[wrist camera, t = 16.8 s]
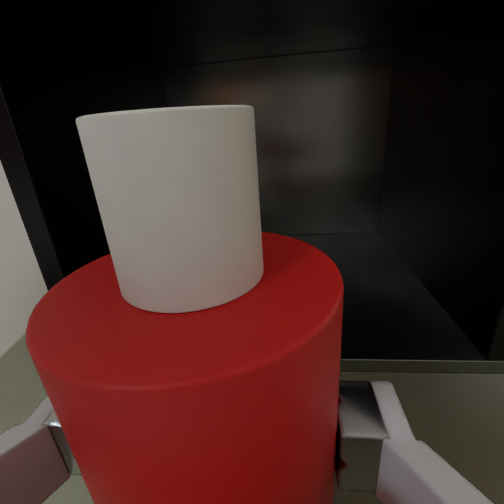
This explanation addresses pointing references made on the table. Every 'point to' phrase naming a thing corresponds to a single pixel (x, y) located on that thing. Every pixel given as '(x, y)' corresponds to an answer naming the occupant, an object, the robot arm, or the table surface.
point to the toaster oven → (295, 145)
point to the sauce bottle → (192, 325)
